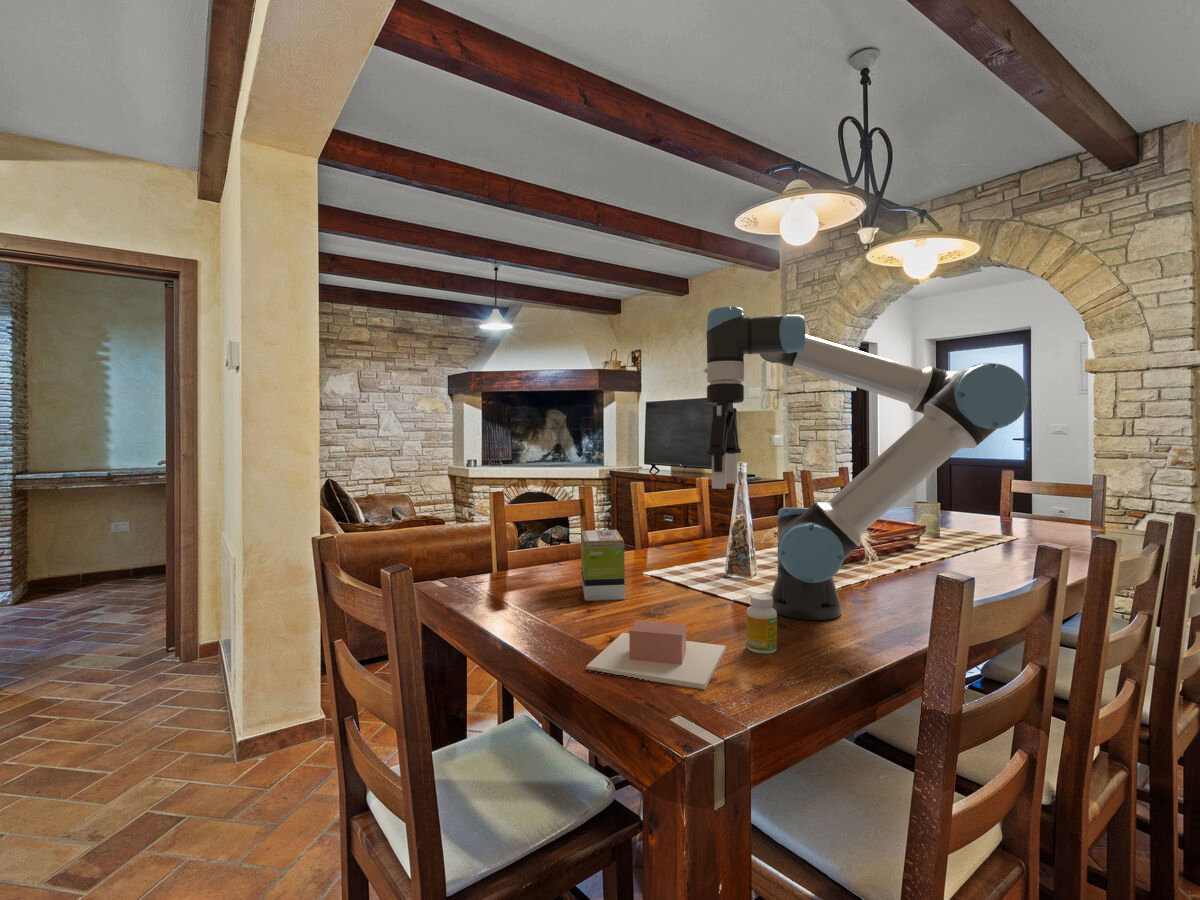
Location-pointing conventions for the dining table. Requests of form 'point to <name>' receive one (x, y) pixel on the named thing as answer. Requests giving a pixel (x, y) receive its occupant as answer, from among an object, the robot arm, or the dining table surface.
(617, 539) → the tea box
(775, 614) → the supplement bottle
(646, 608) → the dining table surface
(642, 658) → the reddish brown rectangular block
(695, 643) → the mat
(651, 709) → the dining table surface
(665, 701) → the dining table surface
